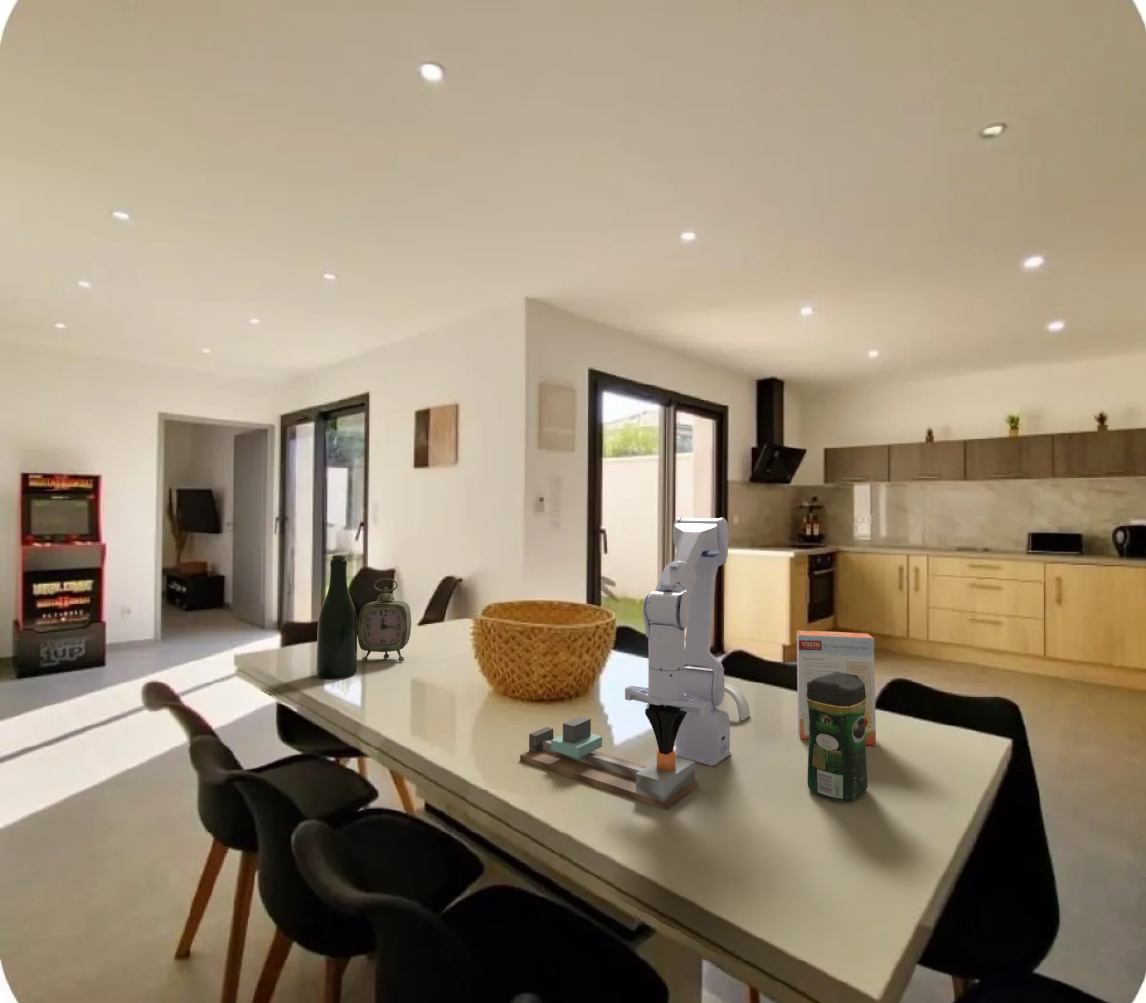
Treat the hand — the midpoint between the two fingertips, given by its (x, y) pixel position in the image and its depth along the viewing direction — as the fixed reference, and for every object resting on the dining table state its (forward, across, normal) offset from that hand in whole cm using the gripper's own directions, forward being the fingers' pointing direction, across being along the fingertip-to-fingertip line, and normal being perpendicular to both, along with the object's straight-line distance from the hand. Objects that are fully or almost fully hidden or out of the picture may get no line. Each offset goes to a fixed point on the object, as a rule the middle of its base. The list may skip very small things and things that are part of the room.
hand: (666, 752), depth 98 cm
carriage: (+3, -18, 0) cm, 18 cm away
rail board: (+6, -12, 0) cm, 14 cm away
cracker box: (+6, +14, +43) cm, 46 cm away
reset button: (+2, 0, 0) cm, 2 cm away
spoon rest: (+7, -16, +43) cm, 46 cm away
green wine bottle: (+6, -107, +7) cm, 107 cm away
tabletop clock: (+6, -112, +26) cm, 115 cm away
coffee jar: (+6, +21, +18) cm, 28 cm away
